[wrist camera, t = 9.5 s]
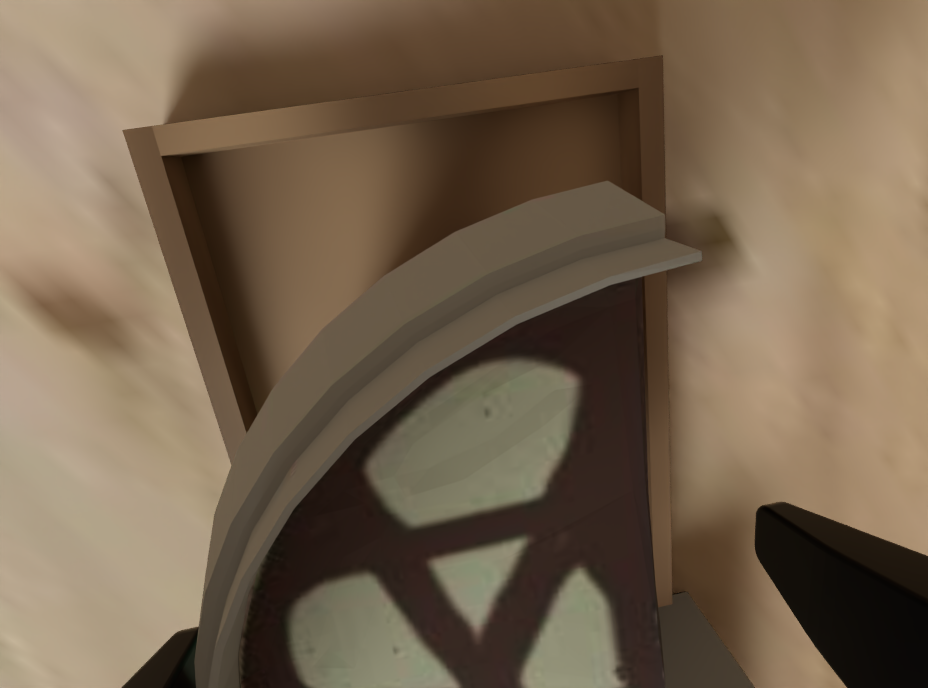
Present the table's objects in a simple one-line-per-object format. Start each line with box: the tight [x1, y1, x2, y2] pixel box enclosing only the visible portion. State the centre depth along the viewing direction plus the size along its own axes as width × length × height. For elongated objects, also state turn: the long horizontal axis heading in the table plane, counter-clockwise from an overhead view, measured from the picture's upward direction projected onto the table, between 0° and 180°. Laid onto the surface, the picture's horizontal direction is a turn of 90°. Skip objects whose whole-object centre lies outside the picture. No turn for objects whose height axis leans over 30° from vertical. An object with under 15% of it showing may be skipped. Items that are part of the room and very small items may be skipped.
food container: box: [194, 181, 702, 688], centre depth 11 cm, size 12×6×10 cm, turn 8°
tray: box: [123, 55, 672, 607], centre depth 15 cm, size 12×16×2 cm
